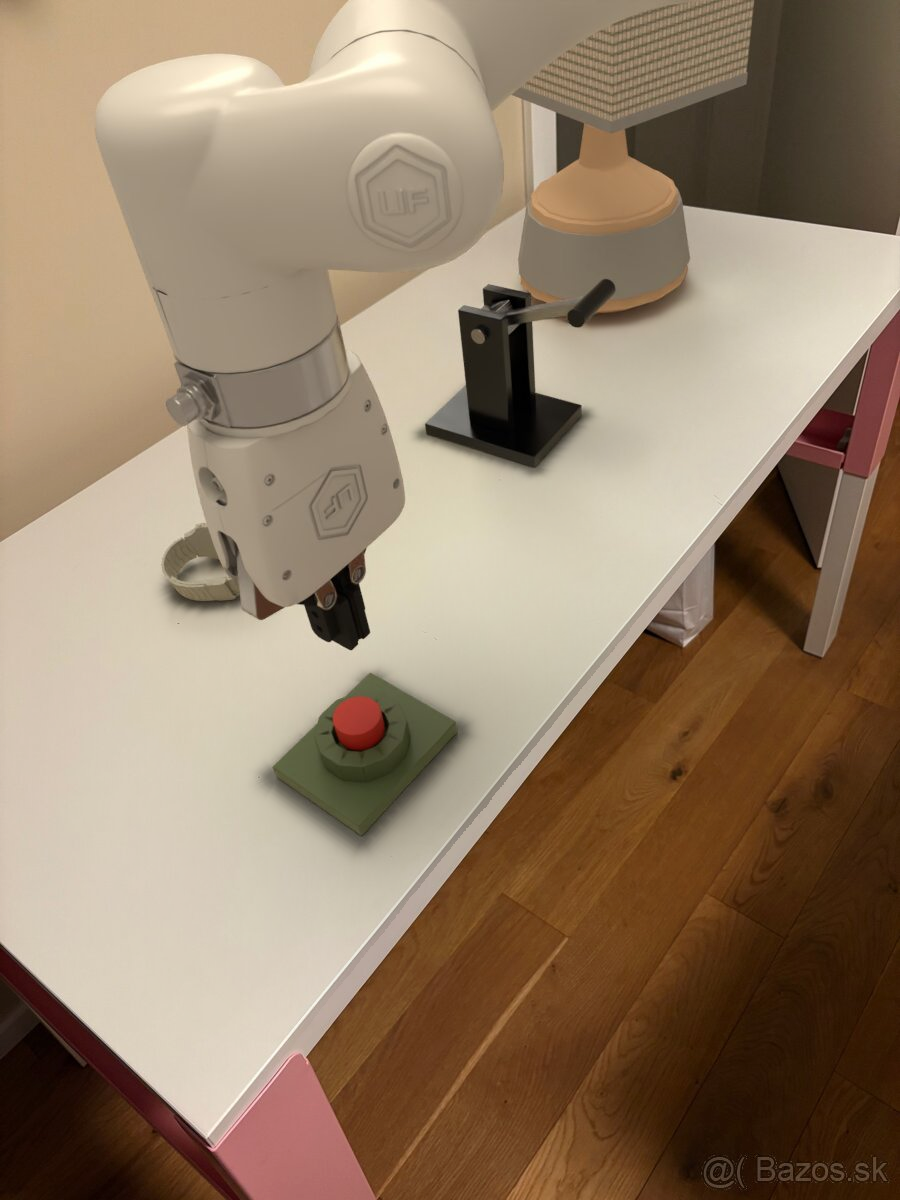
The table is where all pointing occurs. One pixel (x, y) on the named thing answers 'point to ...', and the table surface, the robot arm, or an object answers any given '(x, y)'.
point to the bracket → (501, 389)
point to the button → (359, 723)
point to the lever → (558, 307)
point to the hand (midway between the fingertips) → (342, 632)
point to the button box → (366, 756)
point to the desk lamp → (625, 151)
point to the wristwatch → (188, 549)
